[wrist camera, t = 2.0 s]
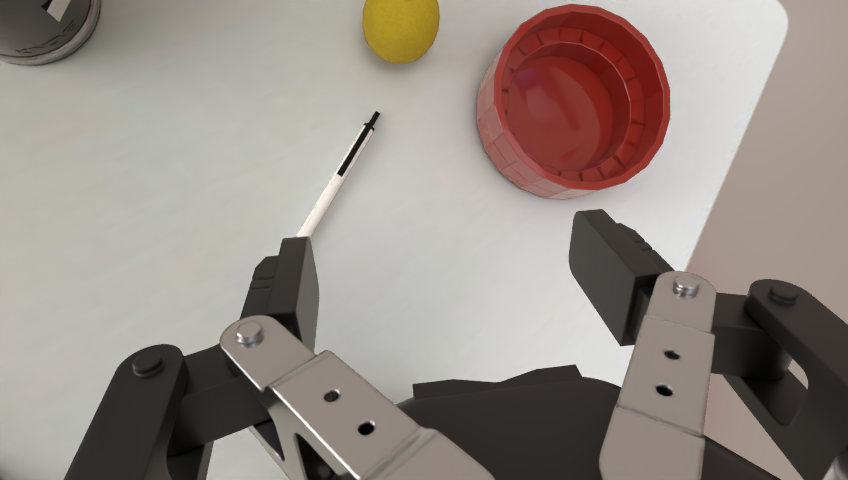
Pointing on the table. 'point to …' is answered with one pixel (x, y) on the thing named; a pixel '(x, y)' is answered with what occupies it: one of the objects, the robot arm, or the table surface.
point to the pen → (338, 178)
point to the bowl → (573, 103)
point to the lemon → (400, 28)
